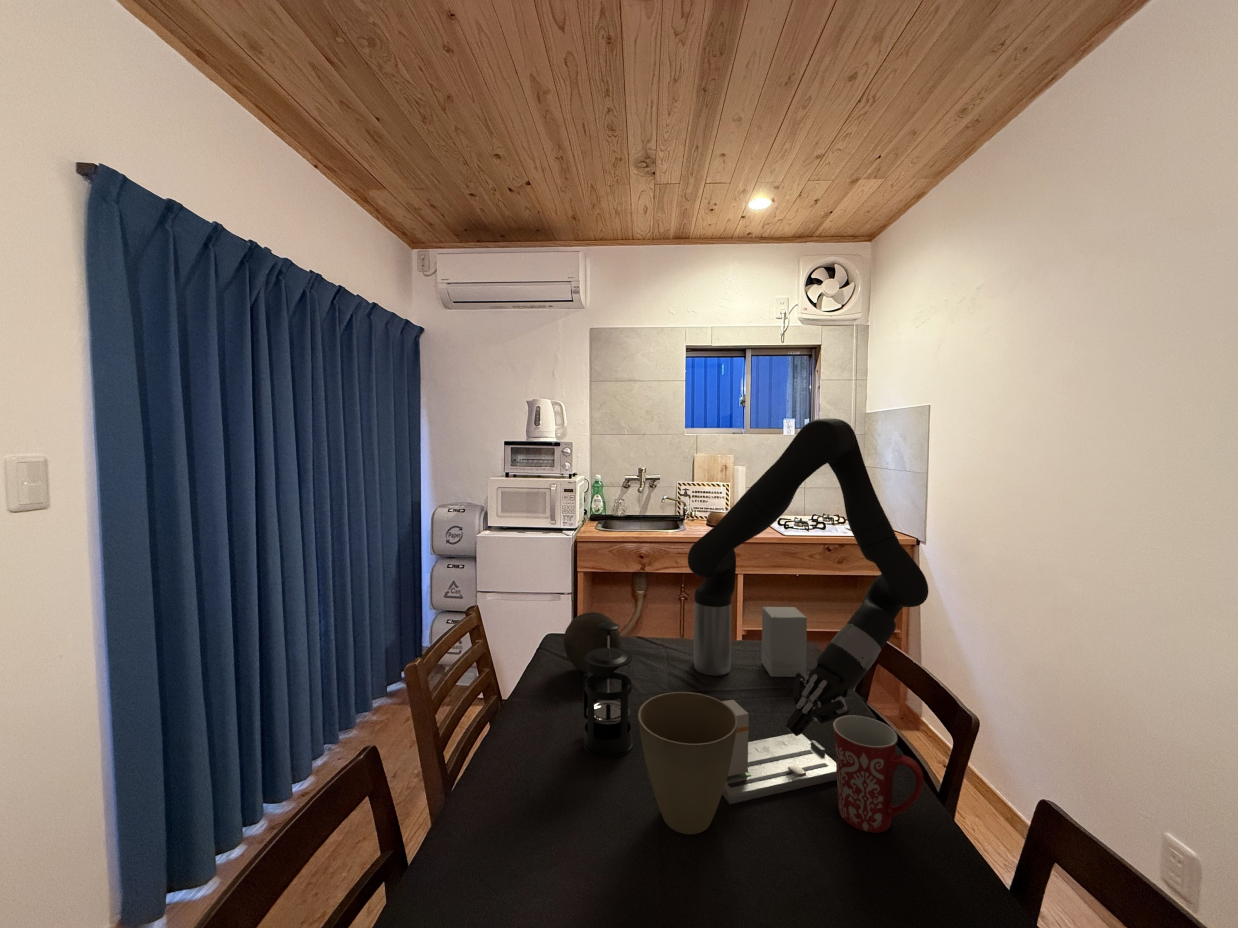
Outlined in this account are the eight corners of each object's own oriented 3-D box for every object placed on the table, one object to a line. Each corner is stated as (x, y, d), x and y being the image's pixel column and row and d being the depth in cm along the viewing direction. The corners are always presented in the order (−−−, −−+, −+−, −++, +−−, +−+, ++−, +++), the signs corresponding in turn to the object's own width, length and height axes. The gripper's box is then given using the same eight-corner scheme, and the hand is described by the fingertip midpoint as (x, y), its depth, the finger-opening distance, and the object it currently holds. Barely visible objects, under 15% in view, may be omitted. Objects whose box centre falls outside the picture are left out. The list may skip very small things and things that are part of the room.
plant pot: (637, 784, 86) (637, 690, 86) (726, 786, 86) (727, 692, 85) (637, 854, 71) (638, 742, 71) (745, 857, 71) (747, 744, 70)
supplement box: (807, 677, 126) (808, 617, 126) (770, 677, 127) (771, 617, 126) (795, 662, 136) (795, 606, 135) (760, 662, 136) (761, 605, 135)
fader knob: (711, 758, 90) (712, 702, 90) (732, 754, 91) (733, 699, 91) (726, 776, 85) (727, 717, 85) (748, 772, 86) (748, 713, 86)
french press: (645, 746, 97) (646, 625, 97) (608, 767, 91) (609, 638, 90) (604, 721, 106) (604, 611, 105) (567, 739, 99) (568, 621, 99)
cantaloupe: (571, 660, 136) (571, 604, 136) (624, 663, 134) (624, 606, 134) (557, 684, 122) (557, 622, 122) (616, 688, 120) (616, 625, 120)
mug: (819, 812, 80) (821, 726, 79) (849, 788, 85) (850, 708, 85) (906, 864, 70) (908, 766, 69) (933, 833, 76) (935, 742, 75)
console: (696, 759, 93) (696, 746, 93) (799, 739, 100) (799, 727, 99) (729, 804, 82) (729, 788, 81) (843, 777, 88) (844, 763, 88)
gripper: (813, 630, 100) (757, 701, 97) (864, 656, 88) (801, 739, 84) (835, 654, 102) (781, 724, 99) (888, 683, 89) (828, 765, 86)
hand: (791, 731), depth 92 cm, fingers closed
